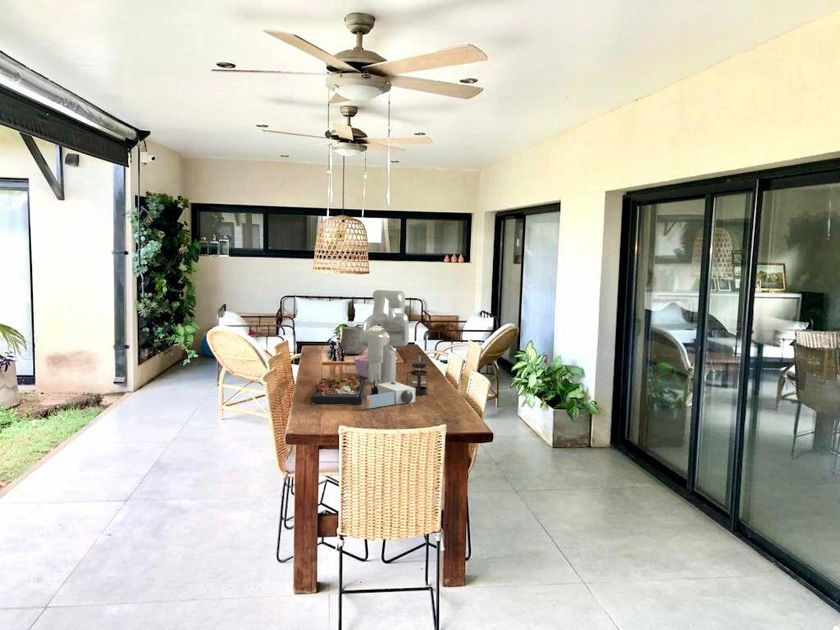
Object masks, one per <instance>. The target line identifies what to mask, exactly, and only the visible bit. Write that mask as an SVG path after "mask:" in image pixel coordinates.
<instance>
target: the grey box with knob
mask: <svg viewBox="0 0 840 630" xmlns="http://www.w3.org/2000/svg"><path fill="white" fill-rule="evenodd" d="M397 382H398V381H397ZM397 382H390V383H382V384H378V394H383V393H389V392H395V391H396V392H397V394H396V404H394V406H396V405H402V404H410V403H415V402H416V396H415V388H413V386H411V385H408V386H407V384H403V383H400V382H398V383H397Z"/></svg>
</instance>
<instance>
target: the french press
mask: <svg viewBox="0 0 840 630" xmlns="http://www.w3.org/2000/svg"><path fill="white" fill-rule="evenodd" d="M415 353H417V354H418V356H419V361H412V362H411V367H412V368H413V369H415V370H411V371H407V375H406V376H407V377H406V385H407V386H409V374H410V376H414V377H415V376H416V377H417V380H413V381H412V380H411V385H414V386H412V387H413V388H415V397H416V396H418V397H423V396H422V395H425V396H428V386H422V385H428V381H429V380H428V378H429V377H428V375H429V372H428V371H427V370H421V369H426V367H427V365H429V362H427V361H421V356H422V354H424V351H421V350H418V351H416V352H415ZM416 369H418V370H416ZM425 376H426V381H425V380H422V377H425Z"/></svg>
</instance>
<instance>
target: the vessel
mask: <svg viewBox="0 0 840 630" xmlns="http://www.w3.org/2000/svg"><path fill="white" fill-rule="evenodd" d="M361 329H362V326H344V327H343V326H342V335H341V340H340V342H339V346H341V347H342V349H343V351H344V353H345V354H344V355H347V354H360V355H362V354H364V352H366V350H367V349H368V346H365V345H363V344H362V343H361V341H360V335H361ZM361 353H362V354H361Z"/></svg>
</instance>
